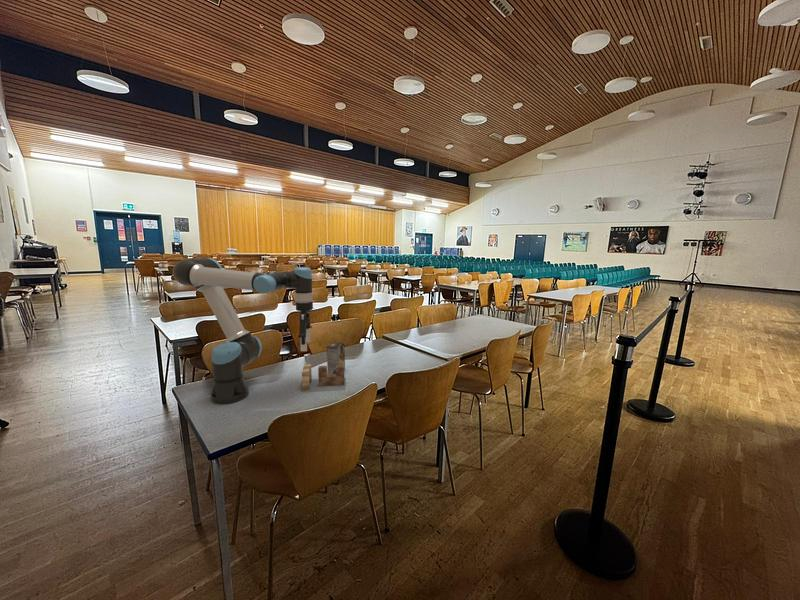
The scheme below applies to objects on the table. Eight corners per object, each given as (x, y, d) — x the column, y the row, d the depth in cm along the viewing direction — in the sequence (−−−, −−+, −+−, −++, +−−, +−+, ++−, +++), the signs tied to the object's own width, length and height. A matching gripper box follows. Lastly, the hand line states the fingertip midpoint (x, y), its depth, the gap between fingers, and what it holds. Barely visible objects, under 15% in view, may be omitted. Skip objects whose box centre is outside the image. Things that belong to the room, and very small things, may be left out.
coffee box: (334, 370, 180) (333, 341, 178) (345, 371, 179) (344, 342, 176) (327, 376, 172) (326, 347, 169) (339, 378, 170) (338, 347, 167)
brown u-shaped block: (318, 386, 158) (318, 368, 156) (319, 383, 161) (318, 366, 159) (344, 385, 160) (344, 367, 158) (344, 382, 163) (344, 364, 161)
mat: (300, 394, 152) (300, 392, 152) (305, 381, 165) (305, 379, 165) (345, 392, 155) (345, 390, 154) (345, 379, 168) (345, 377, 168)
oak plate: (309, 390, 154) (308, 371, 152) (302, 390, 154) (301, 371, 152) (311, 381, 164) (311, 363, 162) (305, 381, 163) (304, 364, 162)
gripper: (309, 306, 140) (311, 354, 144) (315, 296, 164) (316, 338, 168) (290, 307, 139) (293, 355, 143) (299, 297, 163) (301, 338, 167)
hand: (305, 346), depth 156 cm, fingers open, 13 cm apart
